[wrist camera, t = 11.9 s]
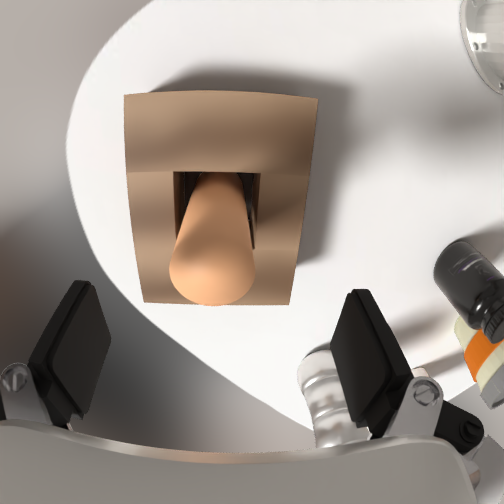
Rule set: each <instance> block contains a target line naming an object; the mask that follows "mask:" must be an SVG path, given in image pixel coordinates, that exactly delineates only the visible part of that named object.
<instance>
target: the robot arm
mask: <svg viewBox="0 0 504 504" xmlns="http://www.w3.org/2000/svg"><path fill="white" fill-rule="evenodd" d="M460 24H461V30H462V35H463V39H464V43H465V46H466V48H467V51H468V54H469V56H470V58H471V60H472V62H473V64H474V66H475V68H476V70H477V71H478V73H479V75H480V76H481V77H482V79H483V80H484V81H485V83H486V84H487V85H488V86H489V87H490V88H491V89H493V90H494V91H496V92H497V93H500V94H502V95H504V0H463V2H462V4H461V9H460ZM110 343H111V336H110V332H109V329H108V327H107V324H106V321H105V318H104V315H103V312H102V309H101V306H100V303H99V299H98V296H97V293H96V289H95V287H94V286H93V285H91V283H90V282H89V281H81V280H75V281H74V282H73V283H72V285H71V287H70V288H69V290H68V292H67V293H66V294H65V296H64V298H63V299H62V301H61V302H60V305H59V306H58V308H57V309H56V311H55V312H54V314H53V316H52V318H51V320H50V321H49V323H48V325H47V326H46V328H45V330H44V332H43V334H42V335H41V337H40V339H39V341H38V343H37V345H36V347H35V349H34V351H33V352H32V354H31V357H30V358H29V363H28V365H27V366H26V365H25V364H22V363H15V364H12V365H10V366H8V367H7V368H6V369H5V370H4V371H3V373H2V375H1V377H0V504H499V502H500V500H501V499H502V497H503V495H504V449H503V448H502V447H501V446H500V445H499V444H498V443H497V442H495V440H493V439H492V438H491V437H490V436H489V435H486V436H484V428H483V425H482V423H481V421H480V420H479V419H478V418H477V417H476V416H474V415H472V414H470V413H468V412H466V411H464V410H462V409H460V408H458V407H457V406H454V405H453V404H450V403H449V402H447V401H445V400H443V391H442V388H441V387H440V385H439V384H438V383H437V382H436V381H435V380H433V379H432V378H430V377H426V376H419V377H414V375H413V373H412V371H411V369H410V367H409V365H408V363H407V360H406V358H405V356H404V354H403V352H402V350H401V348H400V346H399V344H398V342H397V340H396V338H395V336H394V334H393V332H392V330H391V328H390V326H389V325H388V324H387V322H386V320H385V318H384V317H383V315H382V313H381V311H380V309H379V307H378V305H377V303H376V302H375V300H374V298H373V296H372V294H371V292H370V291H369V290H368V289H353V290H352V292H351V293H348V294H347V296H346V300H345V303H344V306H343V309H342V312H341V315H340V318H339V320H338V323H337V326H336V329H335V332H334V335H333V337H332V340H331V344H330V348H331V353H332V356H333V359H334V363H335V366H336V369H337V373H338V376H339V379H340V383H341V386H342V390H343V393H344V397H345V400H346V404H347V408H348V411H349V415H350V418H351V420H352V422H355V423H356V426H357V428H363V427H368V428H369V432H370V435H369V437H368V438H367V440H366V441H362V442H356V443H351V444H344V445H338V446H330V447H323V448H315V449H307V450H296V451H284V452H267V453H209V452H192V451H180V450H171V449H162V448H153V447H147V446H139V445H133V444H128V443H123V442H118V441H113V440H108V439H103V438H99V437H95V436H90V435H86V434H82V433H77V432H74V431H73V430H72V428H71V426H70V423H69V422H70V418H71V417H73V418H77V419H80V420H82V419H83V416H84V414H86V413H87V412H88V410H89V407H90V404H91V400H92V397H93V394H94V390H95V387H96V384H97V381H98V378H99V375H100V372H101V369H102V366H103V363H104V360H105V357H106V354H107V352H108V349H109V346H110Z"/></svg>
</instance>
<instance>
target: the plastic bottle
mask: <svg viewBox="0 0 504 504" xmlns="http://www.w3.org/2000/svg"><path fill="white" fill-rule="evenodd" d="M297 380H298V384H299V387H300V389H301V391H302V393H303V395H304V397H305V399H306V402H307V405H308V408H309V411H310V414H311V417H312V423H313V425H314V426H313V429H314V434H315V443H316V448H323V447H330V446H338V445H344V444H351V443H356V442H362V441H366V440H367V438H368V437H369V435H370V432H369V431H368V429H367V427H363V428H357V426H356V423H355V422H352V420H351V418H350V415H349V411H348V408H347V404H346V400H345V397H344V393H343V390H342V386H341V383H340V379H339V376H338V373H337V369H336V366H335V363H334V359H333V356H332V353H331V350H321V351H317V352H314V353H312V354H310V355H308V356H307V357H306V358H304V359H303V361H302V362H301V364H300V366H299V367H298V370H297Z"/></svg>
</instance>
